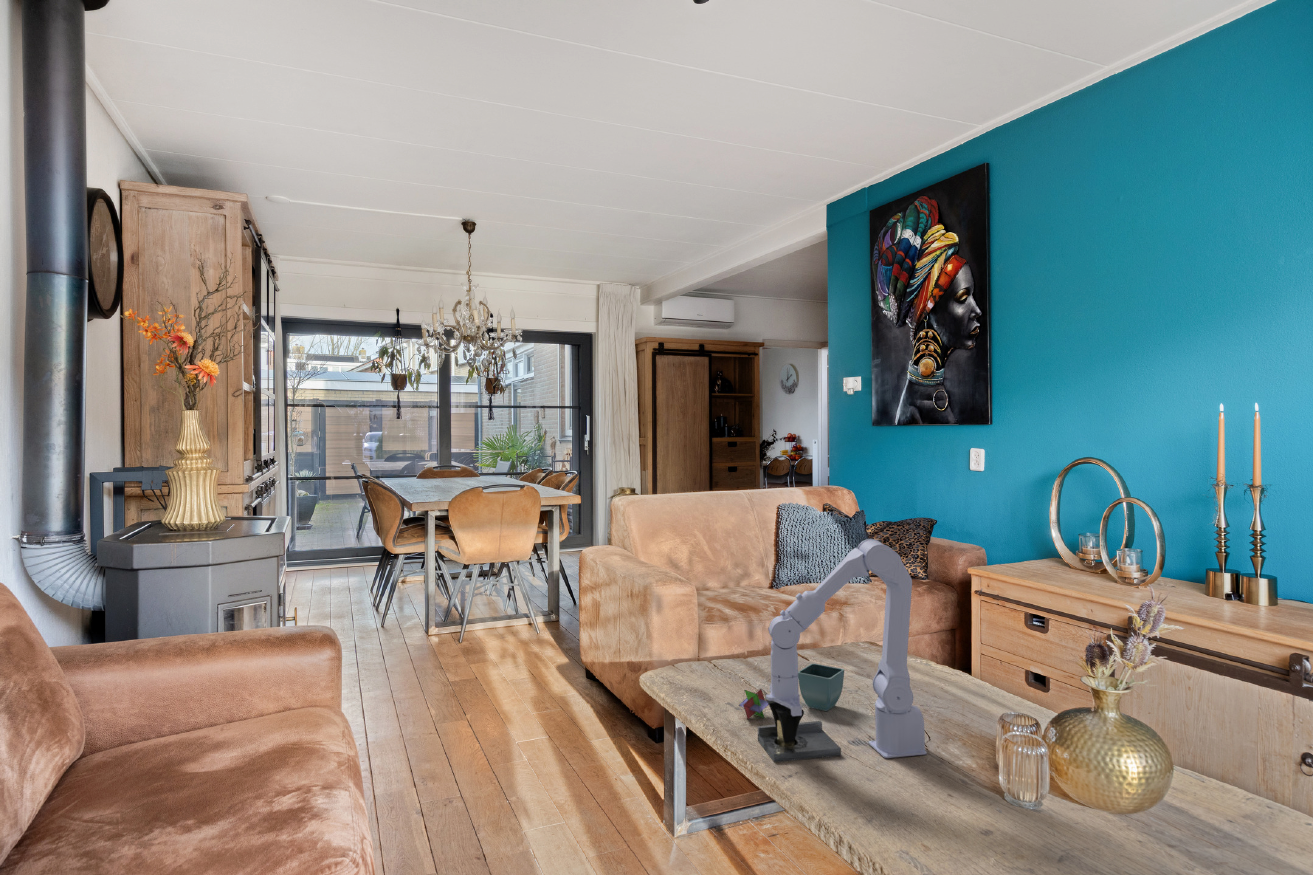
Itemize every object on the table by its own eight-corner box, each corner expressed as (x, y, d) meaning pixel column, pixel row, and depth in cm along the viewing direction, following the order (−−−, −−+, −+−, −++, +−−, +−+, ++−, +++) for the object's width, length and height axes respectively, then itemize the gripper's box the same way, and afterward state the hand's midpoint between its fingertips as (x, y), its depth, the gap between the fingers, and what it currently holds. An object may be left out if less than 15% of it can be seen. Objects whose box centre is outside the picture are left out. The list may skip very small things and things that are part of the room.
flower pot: (831, 716, 177) (830, 678, 177) (797, 708, 182) (796, 671, 182) (845, 705, 184) (845, 668, 184) (812, 698, 189) (812, 662, 189)
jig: (820, 735, 165) (820, 720, 165) (841, 755, 154) (840, 740, 155) (757, 740, 163) (757, 726, 163) (774, 762, 152) (773, 746, 152)
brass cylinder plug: (791, 744, 160) (790, 716, 160) (797, 751, 157) (796, 722, 157) (775, 745, 160) (774, 717, 160) (780, 752, 156) (780, 724, 156)
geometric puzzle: (749, 717, 171) (763, 685, 174) (728, 709, 176) (742, 678, 179) (767, 730, 174) (780, 698, 178) (745, 721, 180) (759, 690, 183)
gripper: (756, 665, 165) (757, 726, 165) (777, 686, 150) (779, 753, 150) (786, 662, 166) (787, 723, 166) (810, 683, 152) (812, 750, 152)
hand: (785, 737), depth 158 cm, fingers closed on brass cylinder plug, 4 cm apart
